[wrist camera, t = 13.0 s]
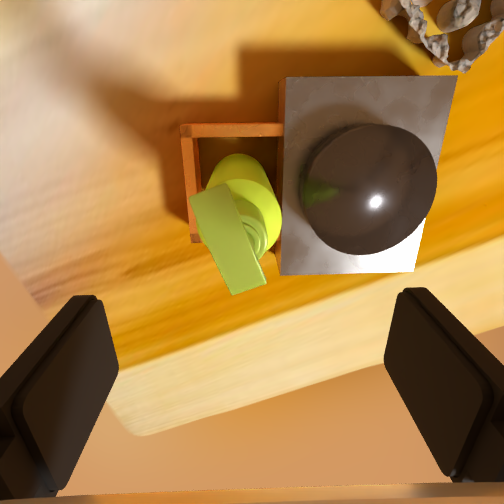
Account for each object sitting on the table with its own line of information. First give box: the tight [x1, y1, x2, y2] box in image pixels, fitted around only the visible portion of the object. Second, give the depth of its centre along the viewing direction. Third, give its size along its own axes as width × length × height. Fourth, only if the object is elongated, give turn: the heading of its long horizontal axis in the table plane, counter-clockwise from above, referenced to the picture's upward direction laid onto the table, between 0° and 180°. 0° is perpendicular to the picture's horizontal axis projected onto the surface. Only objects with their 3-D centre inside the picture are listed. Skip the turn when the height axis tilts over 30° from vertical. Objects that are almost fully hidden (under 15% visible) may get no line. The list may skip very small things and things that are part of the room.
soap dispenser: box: [189, 154, 282, 295], centre depth 24 cm, size 6×7×20 cm
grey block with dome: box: [179, 76, 458, 275], centre depth 30 cm, size 18×23×8 cm
